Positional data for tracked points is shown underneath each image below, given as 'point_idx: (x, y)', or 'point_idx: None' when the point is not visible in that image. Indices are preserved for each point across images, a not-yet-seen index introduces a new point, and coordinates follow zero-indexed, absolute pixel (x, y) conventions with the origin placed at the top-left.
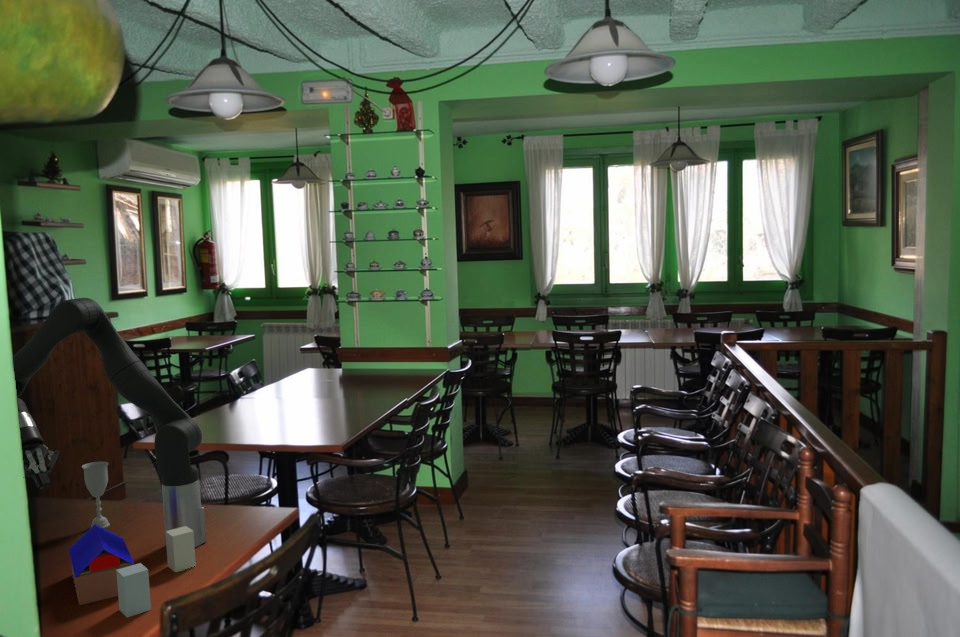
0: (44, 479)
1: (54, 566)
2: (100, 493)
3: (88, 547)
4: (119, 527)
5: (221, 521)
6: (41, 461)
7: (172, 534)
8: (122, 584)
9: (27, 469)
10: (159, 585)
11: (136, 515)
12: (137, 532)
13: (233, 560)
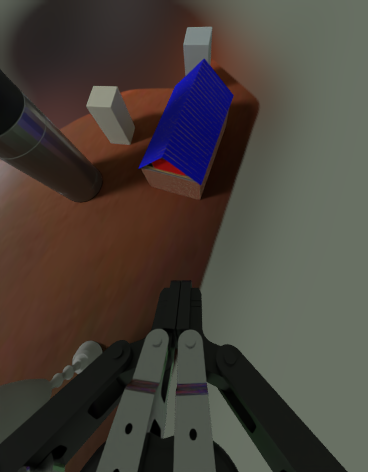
0: (177, 294)
1: (201, 245)
2: (38, 379)
3: (200, 116)
4: (80, 319)
5: (14, 217)
6: (139, 398)
7: (113, 92)
8: (210, 45)
9: (232, 371)
10: (160, 113)
11: (35, 352)
12: (82, 273)
13: (90, 113)
